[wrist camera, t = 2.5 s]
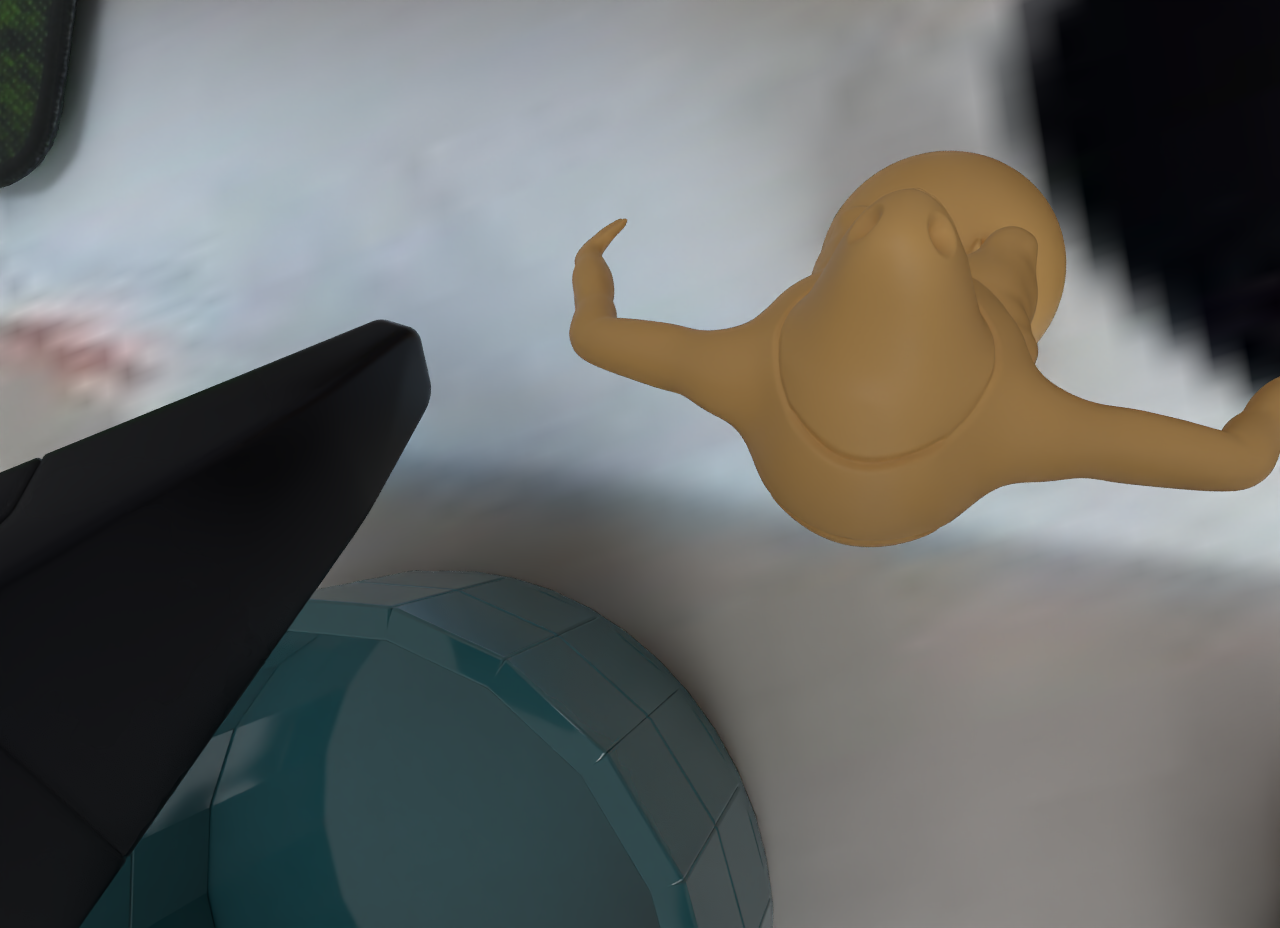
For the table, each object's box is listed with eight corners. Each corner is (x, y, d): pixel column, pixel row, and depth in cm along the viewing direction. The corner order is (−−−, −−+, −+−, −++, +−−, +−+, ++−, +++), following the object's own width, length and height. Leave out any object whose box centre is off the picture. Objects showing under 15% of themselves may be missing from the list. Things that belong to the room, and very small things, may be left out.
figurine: (1203, 222, 16) (1846, -346, 5) (1121, 554, 17) (1547, 739, 5) (747, 163, 19) (470, -314, 7) (683, 455, 19) (326, 436, 8)
